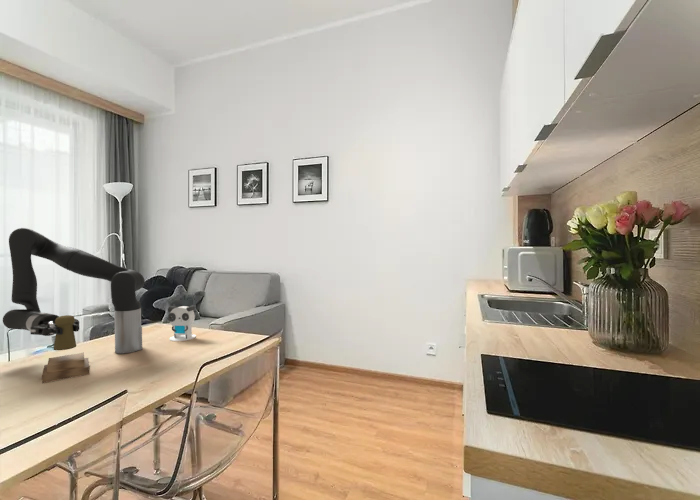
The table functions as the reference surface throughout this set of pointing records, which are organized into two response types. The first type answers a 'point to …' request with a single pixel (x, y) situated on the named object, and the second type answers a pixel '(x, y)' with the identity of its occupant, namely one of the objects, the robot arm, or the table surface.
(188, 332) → the panda figurine
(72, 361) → the walnut stand
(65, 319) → the cork
